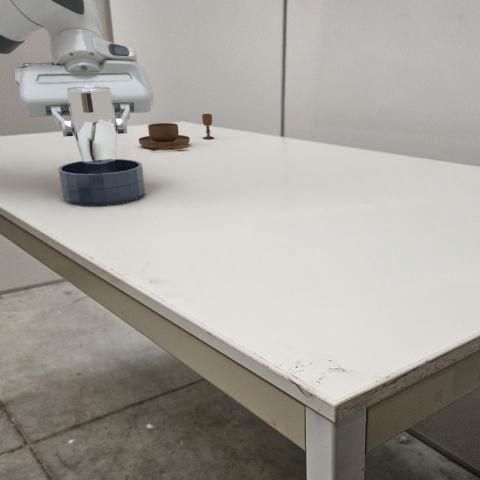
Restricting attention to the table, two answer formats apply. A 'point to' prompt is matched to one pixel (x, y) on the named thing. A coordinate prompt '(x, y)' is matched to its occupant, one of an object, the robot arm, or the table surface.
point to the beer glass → (94, 127)
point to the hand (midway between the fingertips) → (95, 132)
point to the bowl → (102, 184)
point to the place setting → (170, 135)
